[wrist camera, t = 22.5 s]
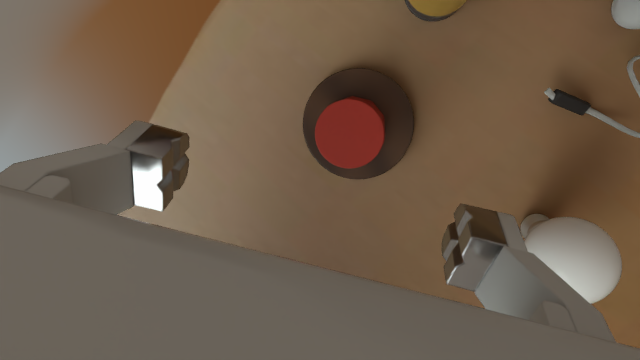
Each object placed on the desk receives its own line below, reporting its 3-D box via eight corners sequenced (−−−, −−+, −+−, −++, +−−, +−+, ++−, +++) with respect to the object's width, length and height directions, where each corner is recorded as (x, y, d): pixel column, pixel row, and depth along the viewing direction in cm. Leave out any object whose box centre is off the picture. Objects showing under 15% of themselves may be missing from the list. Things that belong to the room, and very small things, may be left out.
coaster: (348, 198, 41) (347, 200, 40) (283, 115, 40) (281, 115, 39) (436, 134, 38) (437, 135, 37) (368, 44, 37) (367, 43, 37)
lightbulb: (563, 183, 37) (632, 223, 27) (578, 249, 38) (650, 313, 28) (489, 201, 39) (526, 246, 28) (505, 264, 40) (547, 331, 29)
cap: (351, 170, 39) (345, 182, 34) (311, 123, 39) (300, 129, 34) (398, 132, 38) (399, 139, 33) (358, 83, 37) (353, 83, 32)
